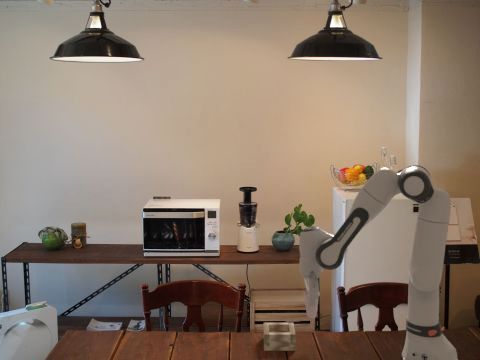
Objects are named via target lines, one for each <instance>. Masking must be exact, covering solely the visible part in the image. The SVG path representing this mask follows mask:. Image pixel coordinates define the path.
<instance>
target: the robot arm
mask: <svg viewBox="0 0 480 360" xmlns="http://www.w3.org/2000/svg"><path fill="white" fill-rule="evenodd" d="M399 194H402V195H403V196H404V197H405V198H407V199H409V200H411V201H414V202H415V203H418V213H417V217H416V218H417V219H416V222H415V223H416V224H415V231H414V235H413V236H414V237H413V244H412V245H413V246H412V252H411V253H412V254H411V257H410V259H409V262H408V291H407V292H408V293H407V295H408V296H407V318H405V319H406V320H405V330H406V336H405V340H404V341H405V342H404V346H403V350H402V352H401V357H402V360H458V352H457V349H456V348H455V347H454V345H453V344H452V343H451V341H449V340H448V339H447V337H446V336H445V335H444V333H443V331H445V329H446V328H445V326H443V327H442V325H441V323H440V321H439V320H440V319H439V317H440V316H439V315H440V284H441V281H442V278H443V277H442V276H443V270H444V263H445V262H444V261H445V253H446V244H447V238H448V232H449V225H450V220H451V207H452V206H451V205H452V204H451V203H452V202H451V195H450V194H449V193H448V192H447V191H446V190H444V189H441V188H437V187H435V186H434V185H433V184H432V177H431V175H430V172H429V171H428V170H427V169H426V168H425V167H423V166H421V165H409V166H407V167H404V168H401V170H398V171H397V172H396V171H394V170H393V169H391V168H387V167H382V168H380V169H377V171H376V172H374V173H373V174H372V175H371V177H369V178H368V180H367V181H366V182H365V184H363V185H362V187H361V188H360V190H359V191H358V192H357V195H356V197H355V199H354V200H353V203H352V204H351V208H350V210H349V212H348V215H347V217H346V219H345V221H344V222H343V223H342V224H341V225H340V227H339V229H338V230H337V231H336V233H335V234H333V233H330V232H327V231H326V230H324V229H322V228H321V227H320V226H309V227H308V226H307V227H306V228H304V229H302V230H301V232H299V245H298V247H299V248H298V250H299V251H298V252H299V256H300V257H299V273H300V274H301V275H302V277H303V281H304V286H305V289H306V290H307V292H308V296H309V299H310V306H315V299H318V298H319V297H320V295H319V292H320V290H319V278H320V275H322V274H323V273H324V270H323V269H325V270H328V271H331V270H336V269H338V268H339V267H341V265H342V263H343V261H344V258H345V256H346V254H347V251H348V247H349V246H350V244H352V242H353V241H354V239H355V237H357V235H358V234H359V233H360V232H361V231H362V229H364V227H366V226H367V225H368V224H369V223H370V222H372V221H373V220H374V219H375V218H376V217H378V215H380V213H381V212H383V211H384V209H385V208H386V207H387V206H388V204H389V203H390V202H392V199H393V198H394V197H396V195H399ZM318 300H319V299H318Z"/></svg>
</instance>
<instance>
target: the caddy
mask: <svg viewBox="0 0 480 360" xmlns="http://www.w3.org/2000/svg"><path fill="white" fill-rule="evenodd" d="M262 327H263V335H262V336H263V351H265V352H267V351H270V352H271V351H277V352H278V351H284V352H285V351H286V352H287V351H294V352H295V351H296V330H295V324H294V322H263V325H262Z"/></svg>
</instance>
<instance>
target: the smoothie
mask: <svg viewBox="0 0 480 360" xmlns="http://www.w3.org/2000/svg"><path fill="white" fill-rule="evenodd" d="M302 295H303V297H304V304H305V310H306V317H307V318H310V319H315V318H317V316H318V315H317V314H318V308H319V307H318V306H319V298H318V299H315V306H310V299H309V296H308V292H307V289H306V290H304V291H303V292H302ZM319 296H320V291H319Z"/></svg>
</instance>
